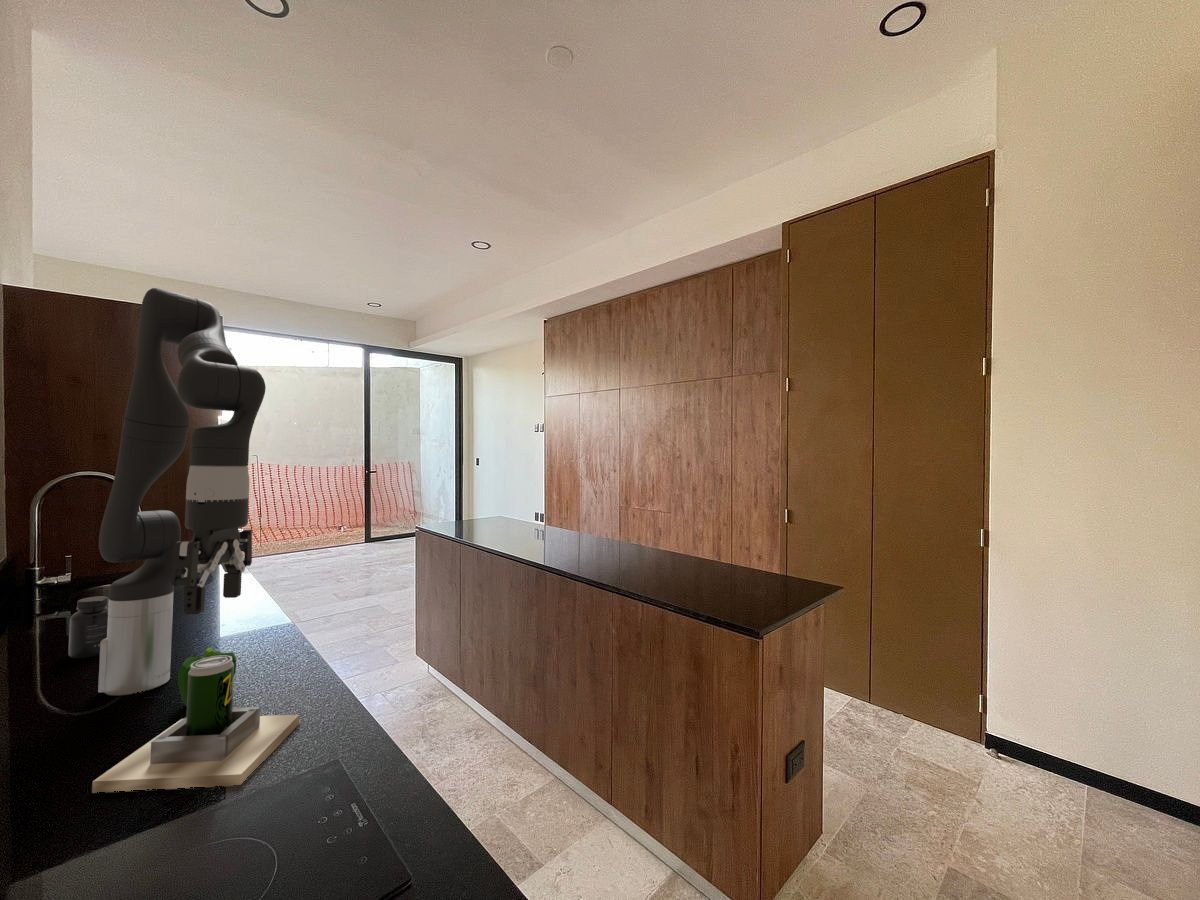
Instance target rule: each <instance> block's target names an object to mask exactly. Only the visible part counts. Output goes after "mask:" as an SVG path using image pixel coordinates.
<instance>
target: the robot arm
mask: <svg viewBox="0 0 1200 900" xmlns="http://www.w3.org/2000/svg"><path fill="white" fill-rule="evenodd" d="M162 342H164V343H170V344H174V345H178V347H177V352H176V353H177V354H176V355H177V358H178V361H179V364H180V365H181V369H180V371H179V375H178V378H177V381H176V382H177V383H176V385H175V384H174V382H173V381H172V380H173V379H172V378H171V376H170V374H169V372H168V370H167V367H166V365H165V362H164V359H163V353H162V352H163V350H162ZM134 360H135V361H134V369H133V374H132V380H131V385H130V390H129V394H128V399H127V404H126V408H125V412H124V415H123V416H124V418H123V422H122V429H121V433H120V434H121V435H120V443H119V448H118V449H119V450H118V456H117V462H116V468H115V474H114V478H113V481H112V485H111V486H112V487H111V489H110V493H109V497H108V501H107V504H106V507H105V510H104V513H103V518H102V521H101V525H100V529H99V535H98V550H99V553H100V555H101V558H103V560H104V561H106V562H107V563H115V564H116V563H124V562H125V563H126V562H127V563H128V562H134V561H136V562H137V561H140V560H144V562H143V564H142V565H141V566H140V567H138V568H137V569H136V570H134V571H133V572H131V573H129V574H128V575H125V576H123V577H121V578H118V579H116V580H115V581H112V583H111V584H110V585H109V587H108V606H107V608H108V626H107V638H106V639H103V640H102V641H101V643H100V655H99V668H98V669H99V670H98V686H97V688H98V690H97V692H98V693H103V694H106V695H107V696H127V695H133V693H134V694H138V693H137V692H139V693H143V692H145V691H146V690H147V691H150V690H153V689H155V688H158V687H160V686H162V685H165V684H166V683H168V682H169V680H170V679H171V662H172V661H171V658H172V639H173V638H172V636H173V615H174V614H173V613H174V611H173V610H174V607H173V606H174V590H175V589H174V588H175V587H181V588H182V589H183V590H184V592H183V613H184V614H185V615H199V614H202V613H204V611H205V601H206V599H205V598H206V586H205V583H206V582H207V579H208V578H209V575H210V574H211V573H214V571H215V570H216V569H217V566H221V568H222V569H223V571H224V572H225V573H223V588H222V597H224V598H226V599H229V598H233V599H236V598H239V596H241V594H242V575H243V574H242V573H244V572H245V570H246V567H250V566H251V565H252V562H253V531H252V529H250V528H249V529H247V528H246V529H245V528H244V527H246V526H247V525H248V523H249V507H250V506H249V505H250V504H249V503H250V500H249V499H250V473H249V455H250V441H251V434H252V432H253V427H254V424H255V420H256V418H257V415H258V413H259V410H260V408H261V406H262V403H263V400H264V398H265V394H266V383H265V380H264V377H263V376H262V374H261V373H260V372H259V371H258V370H257V369H255V368H253V367H250V366H242V365H239V364H238V362H237V360H236V357H234V355H233V353H232V352H231V350H230V349H229V347H228V346H227V343H226V336H225V331H224V326H223V322H222V318H221V314H220V312H219V310H218V308H217V307H216V306H215V305H213V304H212V303H210V302H208V301H207V300H203V299H200V298H195V297H193V296H189V295H185V294H181V293H178V292H173V291H171V290H170V291H169V290H167V289H162V288H157V287H152V288H149V290H147V291H146V292H145V294H144V296H143V299H142V302H141V306H140V311H139V319H138V328H137V339H136V350H135V358H134ZM187 405H188V406H190V407H193V408H196V409H201V410H215V411H226V412H233V414H232V417H231V418H230V419H229V421H227V422H225V423H220V424H212V425H211V424H210V425H204V426H198V427H195V428H194V429H193V430H192V432H191V437H190V450H189V470H188V474H187V478H186V485H185V486H186V489H185V512H184V513H185V514H184V527H185V529H186V530H189V531H192V532H193V536H192V538H191V540H190V541H189V540H184V541H181V536H182V530H181V523H180V520H179V517H178V516H177V514H175V512H173V511H171V510H165V509H164V510H163V509H159V510H147V511H139V510H140V507H141V504H142V501H144V497H145V496H146V494H147V492H148V490H150V488H151V486H152V485H153V484H154V483H155V482H156V481H157V479H159V478H160V477H161V476H162V475H163V474H164V473H165V472H166V471H167V470H168V469H169V468H170V467H171V466H172V465H173V464H174V463H176V461H177V460H178V458H180V456H181V454H182V453H183V452H184V450H185V447H186V443H187V440H188V433H189V428H190V423H191V414H190V411H189V407H188V406H187ZM241 528H242V529H241ZM243 528H244V529H243ZM243 553H244V554H243ZM183 569H185V573H184V574H182V573H183ZM198 573H199V575H198ZM182 575H183V576H182ZM197 575H198V577H197ZM142 691H143V692H142ZM147 691H146V692H147Z"/></svg>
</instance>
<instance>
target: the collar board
mask: <svg viewBox="0 0 1200 900" xmlns="http://www.w3.org/2000/svg"><path fill="white" fill-rule="evenodd" d="M186 718H187V716H185V717H184V718H180V719H179V720H178V721H176V723H174V724H172V725H171V726H169V727H168V728H166V729H165V730H163V731H162V732H161V733H160V734H158V735H157V736H155V737H153V738H152V739H151V740H149V741H148V742H147V743H145V744H144V745H142V746H141V747H139V748H138V749H136V750H135V751H133V752H132V753H131V754H129V755H128V756H127V757H125V758H124V759H122V760H121V761H119V762H118V763H117V764H115V765H114V766H112V767H111V768H110V769H108V770H106V771H105V772H104V773H103V774H100V776H98V777H97V778H96V779H93V780H92V786H91V793H92V794H100V793H99V792H105V793H120V792H119V791H125V792H134V791H133V790H145V791H153V790H152V789H156V790H155V791H158V790H157V789H165V790H178V789H177V788H185V789H191V788H190V787H193V788H192V789H195V788H194V787H205V788H216V787H215V786H218V787H217V788H219V786H222V787H223V786H224V787H234V786H233V785H241V784H242V783H243V781H245V780H247V779H248V778H249V777H250V776H251V775H252V774H253V773H254V772H255V771H256V770H257V769H258V768H259V767H260V766H261V765H262V764H263V763H262V762H263V761H266V760H267V758H269V756H270V755H271V754H272V753H273V752H274V751H275V750H276V749H277V748H278V746H280V745H281V744H282V743H283V741H284V740H285V739H287V737H289V735H290V734H291V733H292V732H293V731H294V730H295V729H296V728H297V727H298V726H299V725H300V714H282V715H281V714H280V715H279V714H277V715H276V714H275V715H261V707H260V706H257V707H256V706H253V707H251V706H250V707H232V725H230V726H229V727H228V728H227V729H226V730H224V731H223V732H222V733H221V734H220V735H200V736H186ZM261 763H262V764H261ZM260 764H261V765H260ZM259 765H260V766H259ZM258 766H259V767H258ZM257 767H258V768H257ZM256 768H257V769H256ZM255 769H256V770H255ZM254 770H255V771H254ZM253 771H254V772H253ZM252 772H253V773H252ZM251 773H252V774H251ZM250 774H251V775H250ZM249 775H250V776H249ZM248 776H249V777H248ZM247 777H248V778H247ZM246 778H247V779H246ZM243 784H244V783H243ZM243 784H242V785H243ZM242 785H241V786H242ZM147 789H149V790H147ZM131 790H132V791H131ZM114 791H116V792H114ZM117 791H118V792H117ZM97 792H98V793H97Z"/></svg>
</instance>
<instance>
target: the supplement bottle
mask: <svg viewBox="0 0 1200 900" xmlns="http://www.w3.org/2000/svg"><path fill="white" fill-rule="evenodd" d="M108 603H109V596H104V595H100V596H99V595H98V596H97V595H96V596H90V597H84V598H81V599H78V600H77V603H76V611H77V612H74V613H73V614H72V615H71V616H70V618H69V633H68V635H69V636H68V656H69V657H70V658H72V659H85V658H86V659H87V658H91V657H97V656H100V643H101V641H102V640H103V639H106V638H107V626H108Z"/></svg>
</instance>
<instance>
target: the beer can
mask: <svg viewBox="0 0 1200 900" xmlns="http://www.w3.org/2000/svg"><path fill="white" fill-rule="evenodd" d="M234 678H235V675H234V664H233V662H232V657H231V656H227V655H219V656H212V657H207V658H203V659H200V660H198V661H195V662H194V663H192V664H191V669H190V670H189V672H188V692H187V706H186V717H187V718H186V717H185V718H186V736H200V735H220V734H221V733H222V732H223V731H224V730H226V729H227V728H228V727H229V726H230V725H232V708H234V707H233V702H234Z"/></svg>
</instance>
